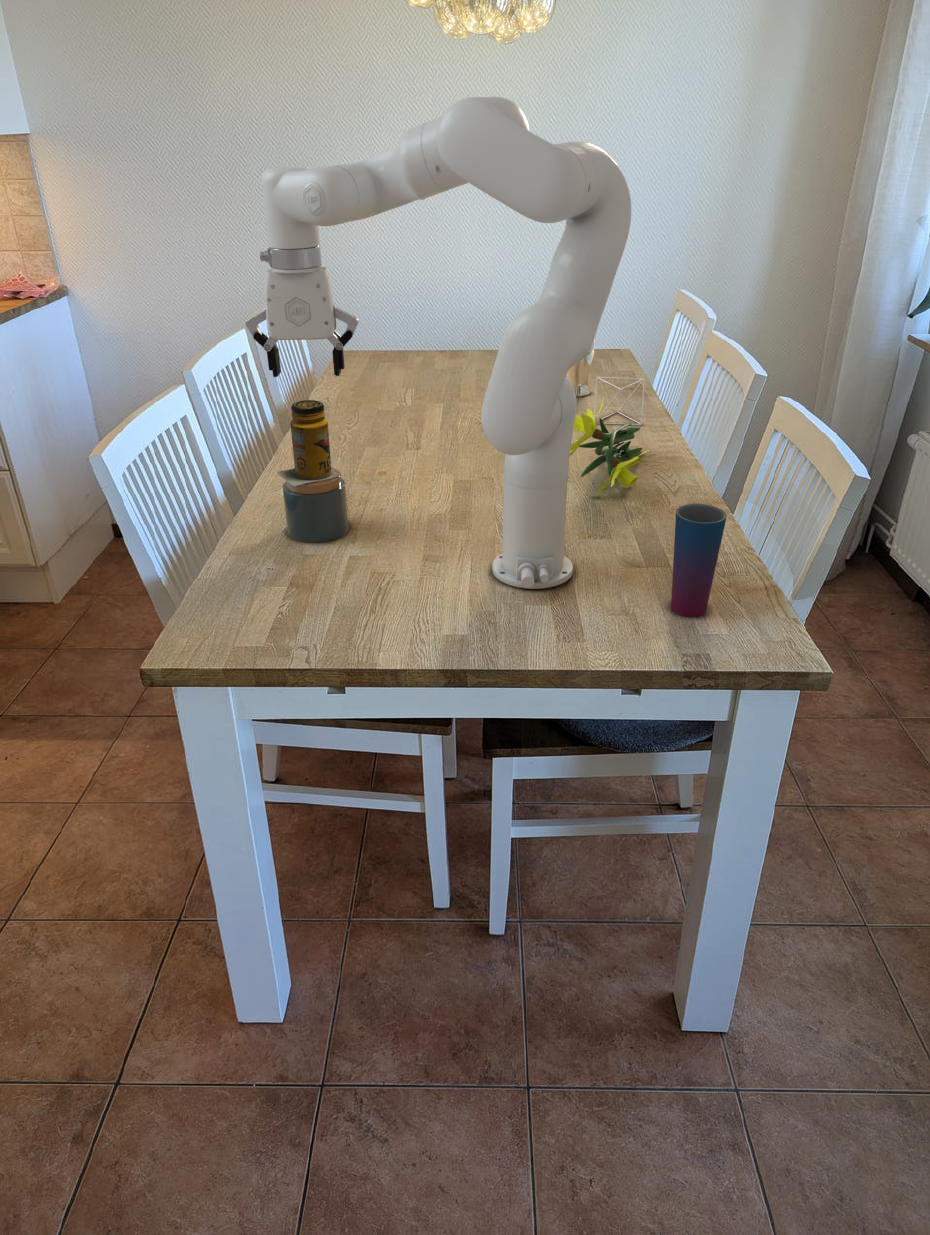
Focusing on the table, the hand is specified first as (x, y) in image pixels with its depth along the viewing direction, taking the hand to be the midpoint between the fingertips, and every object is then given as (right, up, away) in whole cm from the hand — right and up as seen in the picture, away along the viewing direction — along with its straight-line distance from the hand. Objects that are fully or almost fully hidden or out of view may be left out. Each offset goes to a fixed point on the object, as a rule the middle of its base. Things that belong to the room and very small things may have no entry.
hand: (307, 374), depth 145 cm
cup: (+57, -37, -12) cm, 69 cm away
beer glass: (+53, +18, +85) cm, 102 cm away
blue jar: (0, -23, +13) cm, 27 cm away
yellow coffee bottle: (-1, -15, +8) cm, 17 cm away
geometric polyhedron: (+60, +7, +66) cm, 89 cm away
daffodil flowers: (+53, -11, +34) cm, 64 cm away
